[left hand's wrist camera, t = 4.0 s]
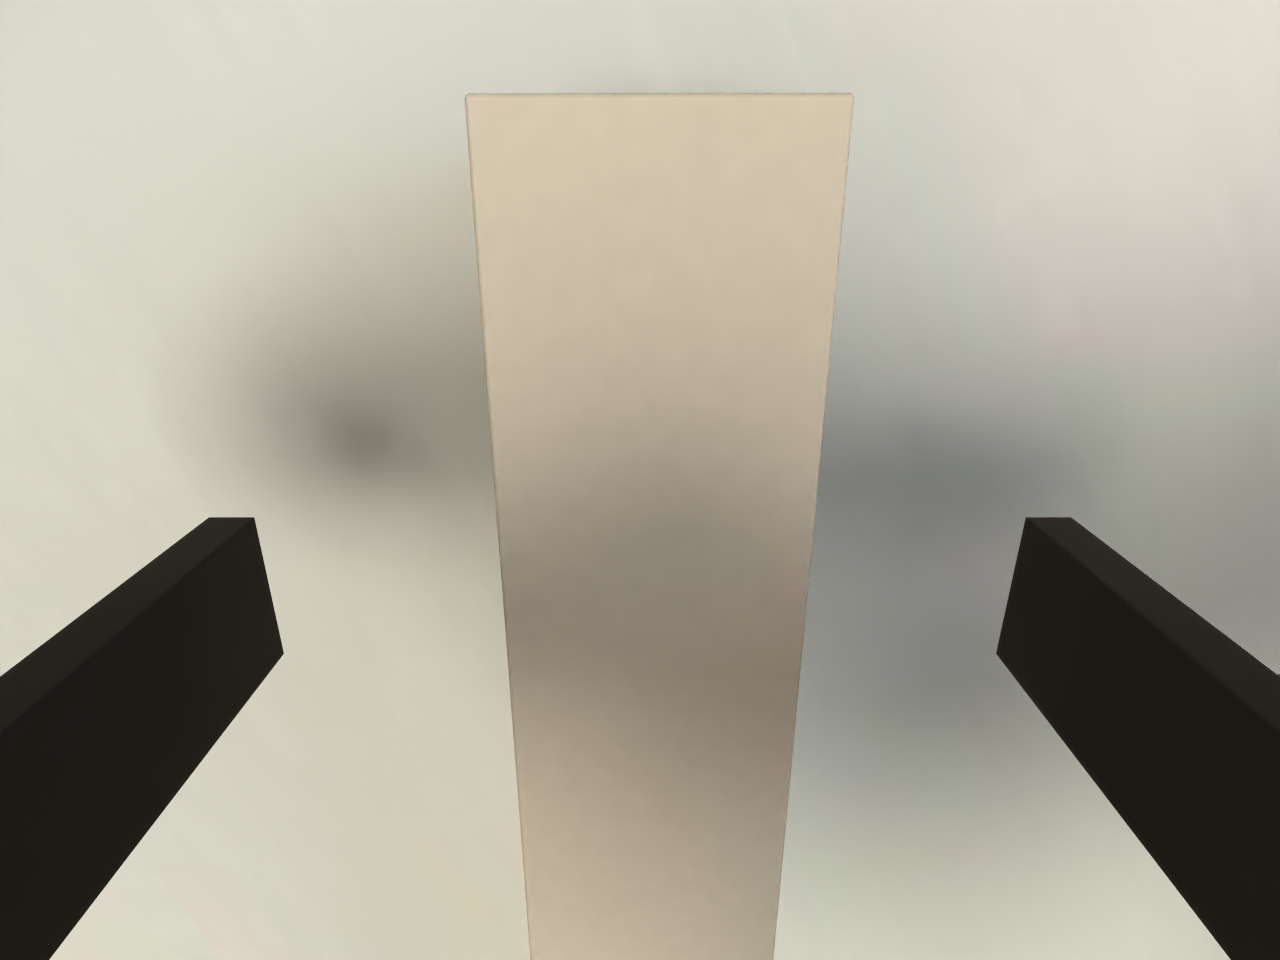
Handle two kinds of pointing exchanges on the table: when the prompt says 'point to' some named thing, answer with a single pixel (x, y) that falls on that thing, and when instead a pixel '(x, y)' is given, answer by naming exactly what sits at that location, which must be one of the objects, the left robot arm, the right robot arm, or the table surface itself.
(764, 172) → the post
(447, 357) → the table surface
